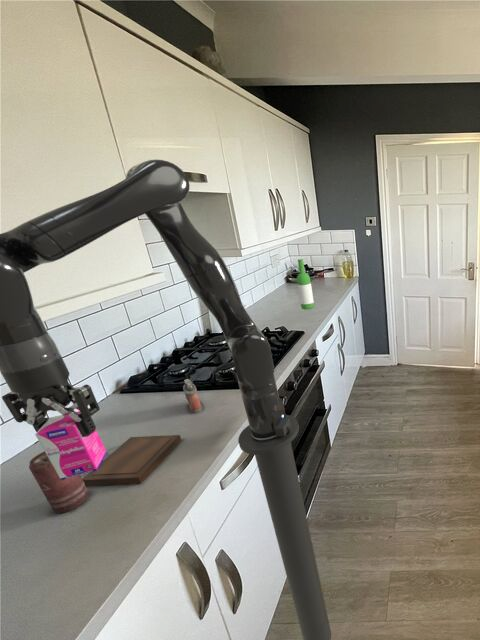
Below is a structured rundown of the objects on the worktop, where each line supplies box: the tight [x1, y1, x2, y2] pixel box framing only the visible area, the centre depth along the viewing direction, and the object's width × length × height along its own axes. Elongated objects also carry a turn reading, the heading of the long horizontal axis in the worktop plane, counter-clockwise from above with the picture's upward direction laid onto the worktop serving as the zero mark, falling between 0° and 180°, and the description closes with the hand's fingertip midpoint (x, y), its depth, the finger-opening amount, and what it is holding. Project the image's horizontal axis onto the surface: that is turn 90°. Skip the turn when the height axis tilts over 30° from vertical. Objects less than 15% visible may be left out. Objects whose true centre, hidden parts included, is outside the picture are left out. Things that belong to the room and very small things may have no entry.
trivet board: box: [82, 434, 182, 487], centre depth 93 cm, size 14×16×2 cm
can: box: [28, 450, 90, 514], centre depth 79 cm, size 6×6×14 cm
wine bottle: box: [296, 258, 315, 310], centre depth 210 cm, size 8×8×30 cm
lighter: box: [182, 378, 203, 414], centre depth 115 cm, size 8×3×10 cm, turn 43°
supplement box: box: [35, 410, 108, 480], centre depth 69 cm, size 6×6×12 cm
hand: (69, 435), depth 68 cm, fingers closed on supplement box, 7 cm apart
